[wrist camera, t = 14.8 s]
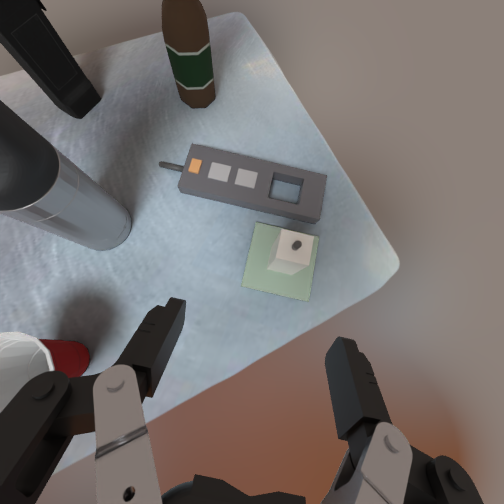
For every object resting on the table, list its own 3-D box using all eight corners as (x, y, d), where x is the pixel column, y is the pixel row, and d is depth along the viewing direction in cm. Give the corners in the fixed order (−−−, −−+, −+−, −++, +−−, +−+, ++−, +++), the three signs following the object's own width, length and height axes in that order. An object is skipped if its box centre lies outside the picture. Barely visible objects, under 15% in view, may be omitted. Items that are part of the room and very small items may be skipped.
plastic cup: (121, 366, 36) (66, 395, 25) (56, 415, 34) (-39, 472, 23) (86, 309, 38) (19, 311, 26) (22, 353, 36) (-82, 376, 24)
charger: (266, 269, 41) (277, 255, 29) (271, 246, 42) (283, 225, 30) (291, 275, 41) (312, 263, 29) (296, 252, 42) (317, 233, 30)
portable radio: (83, 80, 48) (-78, -153, 23) (106, 95, 47) (-33, -128, 23) (55, 106, 46) (-150, -117, 22) (79, 121, 46) (-103, -90, 21)
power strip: (152, 185, 43) (146, 177, 41) (167, 145, 45) (162, 135, 43) (315, 224, 44) (320, 218, 41) (322, 182, 46) (327, 174, 43)
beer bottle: (209, 114, 48) (183, -69, 24) (173, 104, 48) (113, -89, 24) (221, 86, 50) (207, -110, 26) (186, 75, 50) (141, -129, 26)
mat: (240, 286, 40) (240, 286, 40) (255, 223, 43) (255, 222, 42) (307, 301, 40) (308, 301, 40) (318, 237, 43) (319, 236, 43)
